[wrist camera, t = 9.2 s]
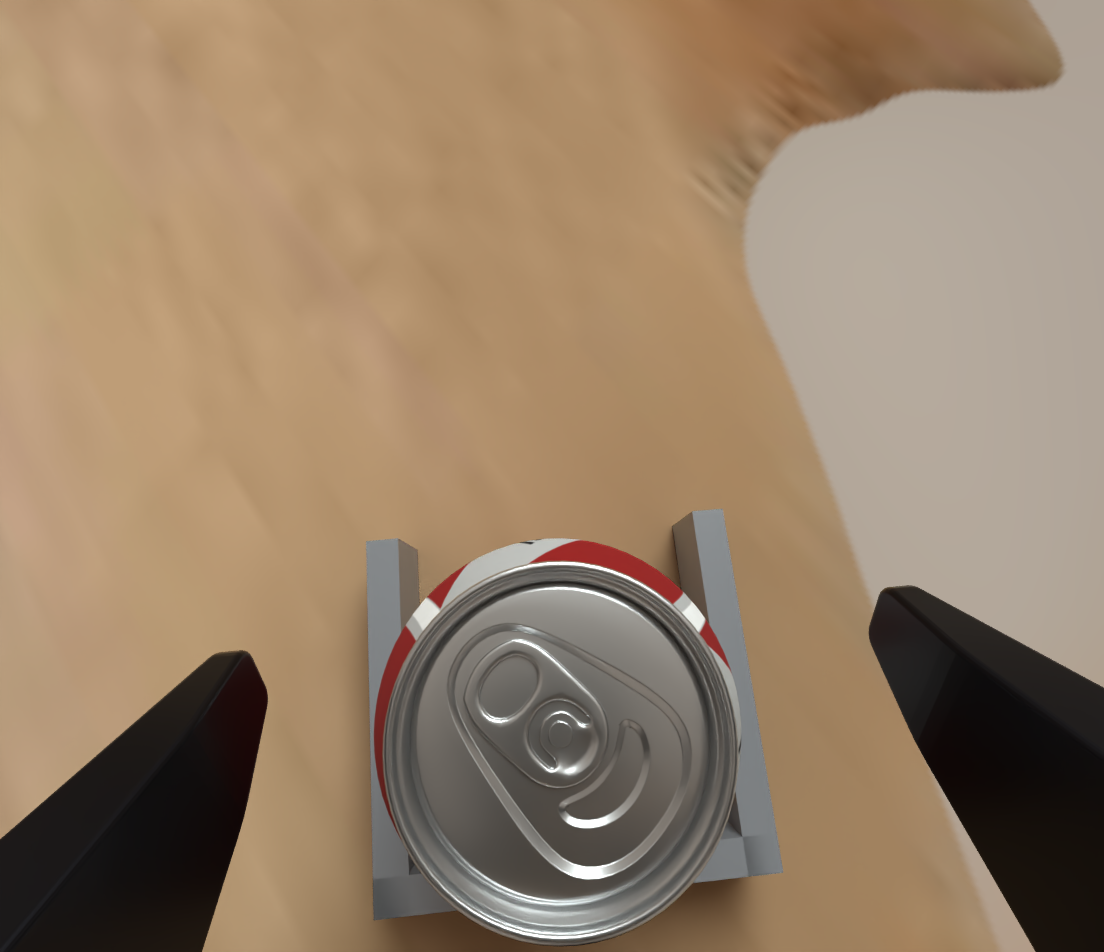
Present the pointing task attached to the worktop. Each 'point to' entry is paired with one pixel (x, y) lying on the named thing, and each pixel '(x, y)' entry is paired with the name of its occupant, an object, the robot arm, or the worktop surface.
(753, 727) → the gray bracket
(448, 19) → the worktop surface
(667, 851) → the soda can
